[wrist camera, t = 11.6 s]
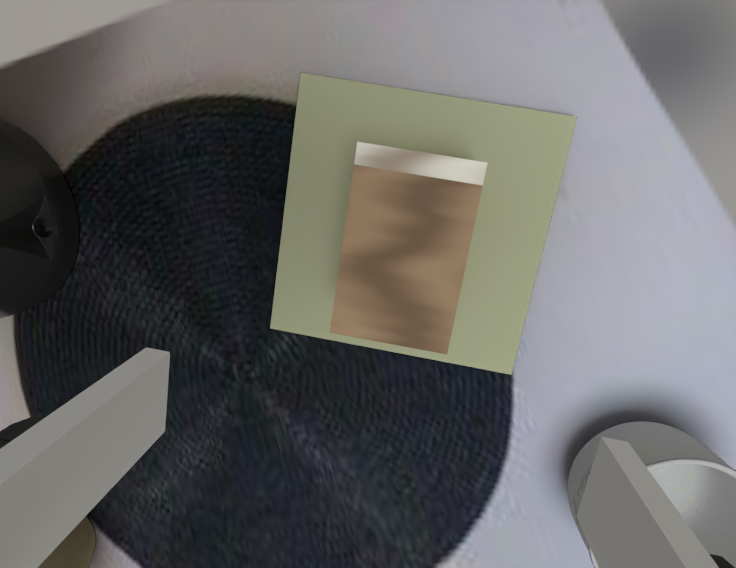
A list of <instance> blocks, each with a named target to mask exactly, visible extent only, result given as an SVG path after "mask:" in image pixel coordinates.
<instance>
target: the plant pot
mask: <svg viewBox="0 0 736 568" xmlns="http://www.w3.org/2000/svg"><path fill="white" fill-rule="evenodd" d="M95 543H96V539H95V533H94V529H93V527H92V525H91V523H90V521H89V520H88V518H87V517H86V516H85V517H84V518H83V519H82V521H81V522H80V523H79V524H78V525H77V526H76V527H75V528H74V529H73V530H72V531H71V532H70V533H69V534H68V536H67V537H66V538H65V539H64V540H63V541H62V542H61V543H60V544H59V545H58V546H57V547H56V548H55V549H54V551H53V552H52V553H51V554H50V555H49V556H48V557H47V558H46V559H45V560H44V561H43V562H42V563H41V564H40V566H39V567H38V568H88V567H89V564H90V561H91V558H92V555H93V552H94V549H95Z"/></svg>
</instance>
